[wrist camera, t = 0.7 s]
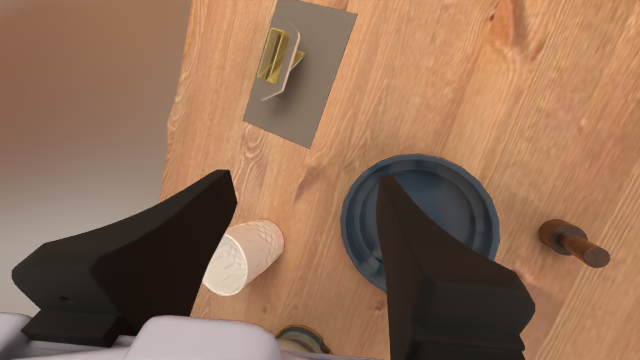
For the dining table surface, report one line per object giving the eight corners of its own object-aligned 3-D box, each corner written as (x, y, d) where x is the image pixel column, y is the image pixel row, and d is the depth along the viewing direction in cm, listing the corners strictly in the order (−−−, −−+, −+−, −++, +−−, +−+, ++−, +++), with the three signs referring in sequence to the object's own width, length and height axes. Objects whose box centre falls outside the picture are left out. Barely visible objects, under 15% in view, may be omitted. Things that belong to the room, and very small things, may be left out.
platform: (357, 14, 34) (342, -17, 28) (309, 148, 38) (287, 147, 32) (279, -5, 38) (250, -35, 32) (242, 120, 42) (211, 114, 36)
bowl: (523, 219, 30) (541, 231, 25) (418, 306, 35) (417, 330, 30) (409, 127, 33) (406, 122, 29) (328, 218, 38) (314, 226, 34)
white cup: (259, 204, 42) (211, 218, 33) (297, 238, 40) (258, 263, 31) (236, 242, 44) (185, 265, 35) (271, 275, 42) (227, 309, 33)
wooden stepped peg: (581, 233, 28) (632, 259, 21) (556, 252, 29) (596, 283, 22) (555, 213, 29) (596, 231, 22) (531, 232, 30) (563, 256, 23)
